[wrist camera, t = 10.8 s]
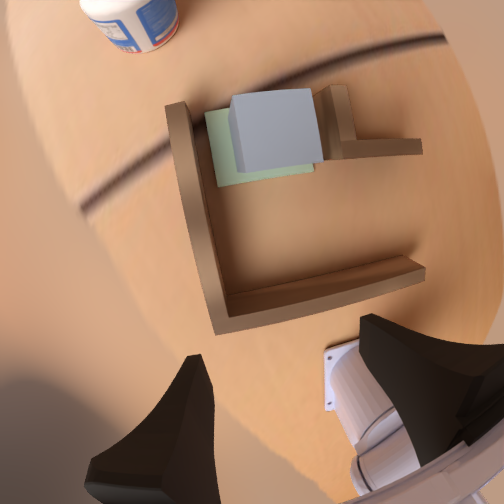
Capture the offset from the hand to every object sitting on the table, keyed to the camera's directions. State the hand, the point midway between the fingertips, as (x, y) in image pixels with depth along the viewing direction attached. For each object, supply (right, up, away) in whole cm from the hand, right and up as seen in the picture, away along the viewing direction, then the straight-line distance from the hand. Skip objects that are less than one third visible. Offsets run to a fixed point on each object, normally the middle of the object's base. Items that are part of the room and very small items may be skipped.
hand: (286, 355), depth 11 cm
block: (-1, +12, +7) cm, 14 cm away
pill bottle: (-10, +22, +3) cm, 24 cm away
